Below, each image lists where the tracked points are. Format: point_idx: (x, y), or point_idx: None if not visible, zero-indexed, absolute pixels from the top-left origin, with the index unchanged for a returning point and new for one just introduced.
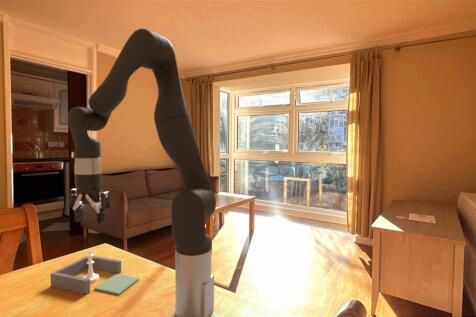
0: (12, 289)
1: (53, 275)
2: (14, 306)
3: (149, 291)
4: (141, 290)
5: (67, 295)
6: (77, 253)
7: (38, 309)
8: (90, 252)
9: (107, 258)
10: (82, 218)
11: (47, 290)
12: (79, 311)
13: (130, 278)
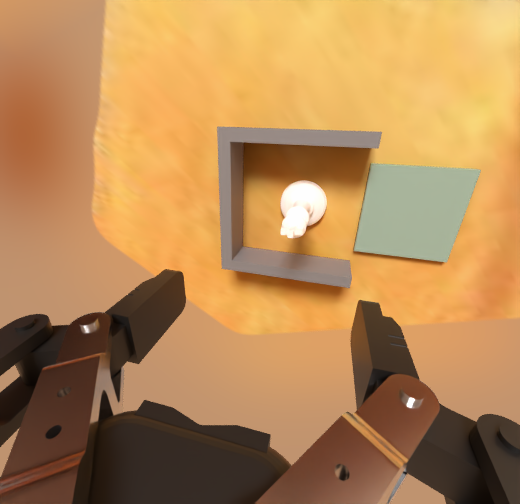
0: None
1: (232, 268)
2: (236, 321)
3: None
4: (512, 226)
5: None
6: (111, 47)
7: (287, 325)
8: (296, 233)
9: (310, 132)
10: (175, 275)
11: None
12: None
13: (444, 179)
